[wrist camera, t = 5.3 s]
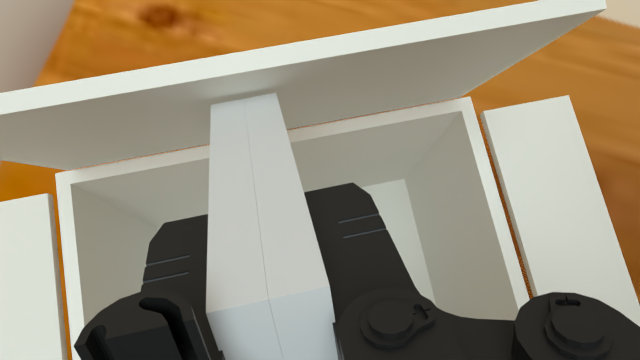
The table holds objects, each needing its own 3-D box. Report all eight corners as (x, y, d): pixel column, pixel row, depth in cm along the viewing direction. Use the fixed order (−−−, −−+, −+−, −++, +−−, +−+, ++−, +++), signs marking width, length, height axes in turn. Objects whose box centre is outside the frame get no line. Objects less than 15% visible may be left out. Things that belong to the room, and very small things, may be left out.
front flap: (457, 85, 19) (602, -14, 10) (459, 97, 19) (607, 8, 10) (64, 157, 18) (-141, 113, 9) (66, 170, 18) (-137, 139, 9)
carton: (466, 160, 32) (562, 77, 20) (536, 411, 29) (701, 489, 17) (86, 234, 30) (-55, 191, 18) (115, 512, 27) (-33, 679, 15)
